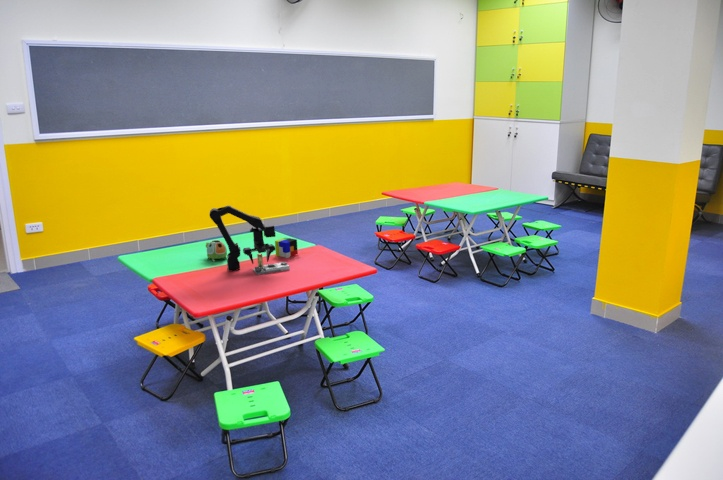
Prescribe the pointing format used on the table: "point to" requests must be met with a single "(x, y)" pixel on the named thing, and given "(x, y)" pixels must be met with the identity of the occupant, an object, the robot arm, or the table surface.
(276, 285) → the table surface
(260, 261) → the brass pin
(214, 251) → the turtle holder
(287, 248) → the puzzle toy
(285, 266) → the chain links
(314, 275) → the table surface
